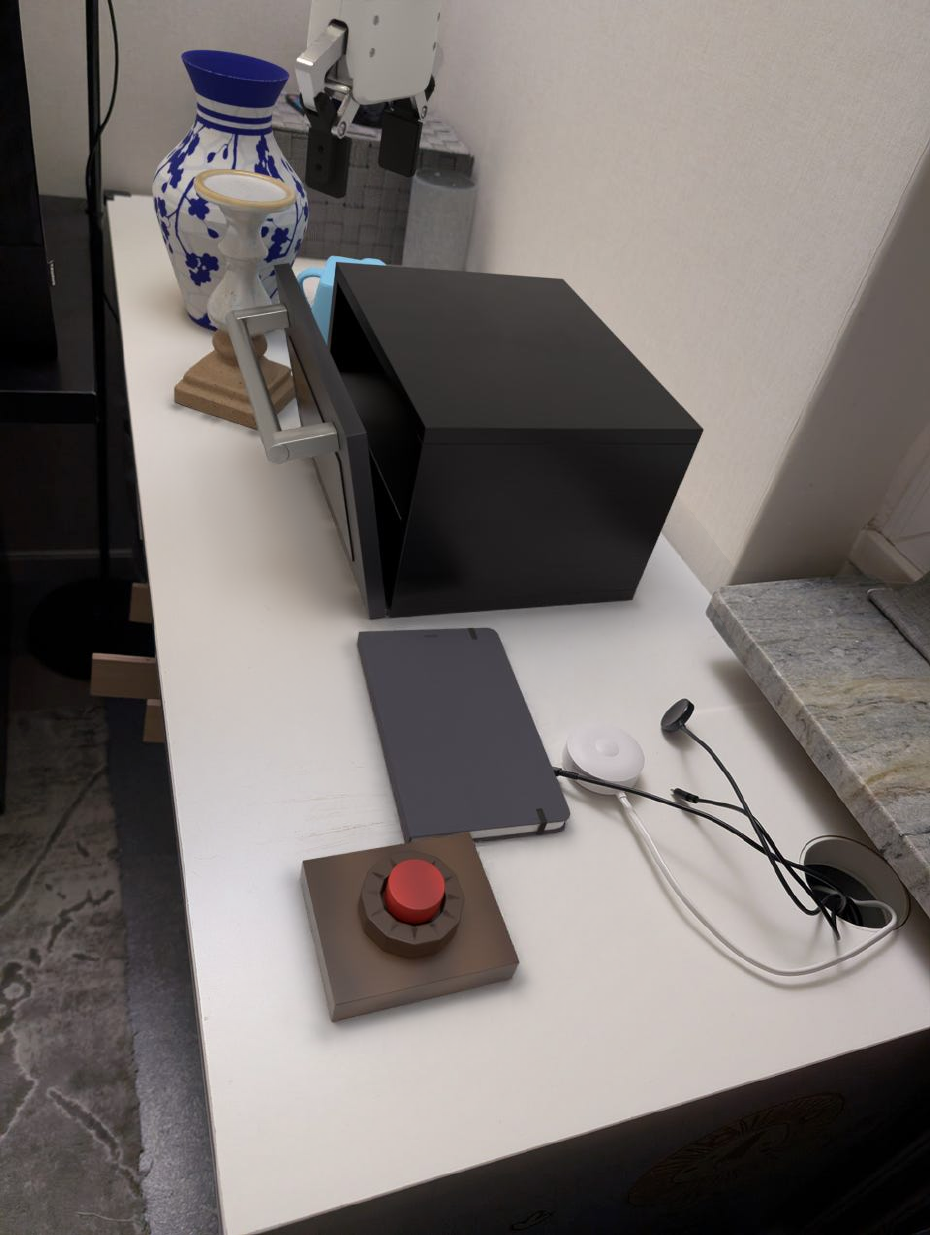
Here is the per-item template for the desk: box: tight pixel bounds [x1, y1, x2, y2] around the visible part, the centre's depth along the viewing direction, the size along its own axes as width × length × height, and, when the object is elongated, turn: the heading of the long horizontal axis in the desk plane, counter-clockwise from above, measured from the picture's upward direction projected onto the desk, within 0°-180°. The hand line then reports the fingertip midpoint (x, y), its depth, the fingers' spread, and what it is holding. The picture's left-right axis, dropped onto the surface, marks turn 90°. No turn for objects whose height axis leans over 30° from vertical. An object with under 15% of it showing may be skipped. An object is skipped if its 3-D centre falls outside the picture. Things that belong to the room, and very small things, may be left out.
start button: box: [385, 859, 445, 924], centre depth 57 cm, size 4×4×2 cm
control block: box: [299, 832, 520, 1022], centre depth 58 cm, size 12×10×4 cm
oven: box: [327, 262, 705, 619], centre depth 91 cm, size 26×32×20 cm
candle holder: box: [173, 169, 296, 430], centre depth 99 cm, size 11×11×24 cm
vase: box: [151, 49, 310, 331], centre depth 112 cm, size 19×19×30 cm
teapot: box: [296, 255, 387, 344], centre depth 115 cm, size 18×16×14 cm
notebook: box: [356, 627, 571, 843], centre depth 73 cm, size 13×2×21 cm
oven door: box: [225, 263, 388, 620], centre depth 85 cm, size 8×32×20 cm, turn 19°
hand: (362, 181), depth 68 cm, fingers open, 9 cm apart
